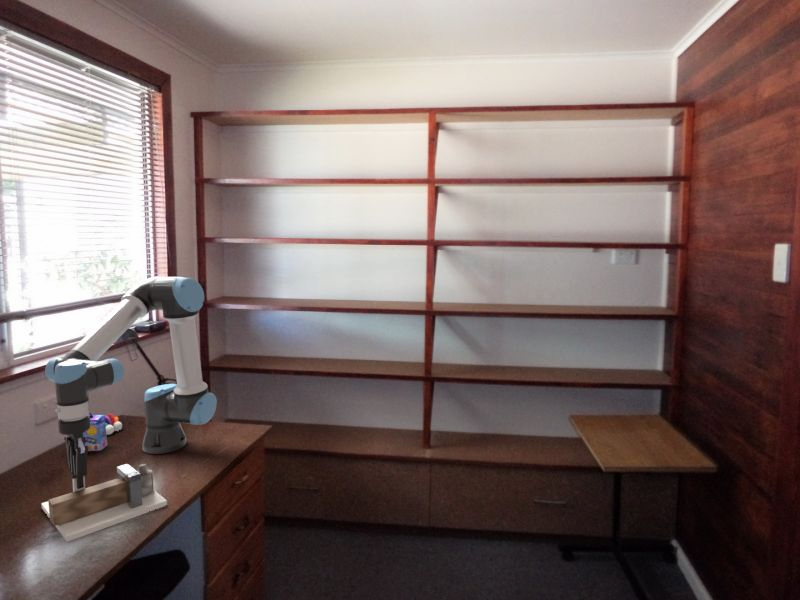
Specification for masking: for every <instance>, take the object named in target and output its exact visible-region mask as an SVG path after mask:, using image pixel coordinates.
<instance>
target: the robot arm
mask: <svg viewBox="0 0 800 600" xmlns="http://www.w3.org/2000/svg"><path fill="white" fill-rule="evenodd" d="M204 301H205V293H204V289H203V287H202V285H201V284H200V283H199V281H197V280H196V279H194V278H191V277H186V276H154V277H150V278H147V279H145V280H143V281H141V282H139V283H137V284H136V285H135V286H133V287H131V288H130V289H129V290H127V292H126V293H125V294H124V295H123V296H122V297H121V298H120V303H118V305H117V306H116V307H115V308H114V309H112V310H111V311H110V313H108V314H107V316H105V317H104V318H103V319H102V320H101V321H100V322H99V323H97V324H96V326H94V328H93V329H92V330H90V331H89V332H88V333H87V335H85V336H84V337H83V338H82V339H81V340H80V341H79V342H78V343H77V344H76V345H74V347H72V349H70V350H69V351H68V353H66V354H65V355H64V356H58V357H53V358H52V359H50V360H49V361H48V362H47V363H46V366H45V367H44V368H45V370H44V371H45V372H44V373H45V374H44V375H45V376H46V378H47V379H48V380H49V381H50V382H53V383H54V387H55V396H56V397H55V398H56V404H57V405H56V406H57V408H55V409H54V410H55V413H57V418H58V421H57V422H58V424H57V425H58V433H59V434H60V435H64V437H63V438H64V439H63V440H64V443H65V448H66V455H67V456H66V457H67V463H68V470H69V472H70V475H71V477H70V478H71V481H72V492H75V491H79V490H82V489H85V488H86V479H85V477H86V476H87V475H88V452H89V451H88V446H87V445H86V446H85V443H86V439H85V436H84V437H83V433H84V432H85V431H87V430H89V429H90V416H89V415H90V414H89V413H90V410H91V409H90V399H89V392H92V391H95V390H98V389H101V388H105V387H108V386H112V385H114V384H116V383H119V382H120V381H121V380H123V378H124V375H125V370H124V369H125V366H124V365H123V364H122V362H121V361H120V360H119V359H117V358H104V359H103V360H99V359H100V358H101V357H102V356H103V355H104V354H105V353H106V352H107V351H108V350H109V349H110V348H111V347H112V346H113V344H115V343H116V342H117V341H118V340H119V339H120V337H122V336H123V334H124V333H125V332H127V330H129V328H130V327H131V326H132V325H134V323H136V321H137V320H138V319H140V318H144V317H145V316H146V315H148V314H149V313H150V312H152V311H157V310H158V311H160V310H161V311H162V317H163V319H164V320H166V321H167V322H168V325H169V333H170V341H171V347H172V355H173V356H172V357H173V362H174V369H175V370H174V371H175V377H176V383H165V384H161V385H156V386H153V387H150V388H148V389H147V390H146V391H144V401H143V402H144V413H145V426H146V429H145V434H144V437H143V438H142V439H143V440H142V445H141V447H142V451H143V452H144V453H146V454H149V455H160V454H161V455H162V454H168V453H172V452H176V451H179V450H180V449H182V448H184V447H185V446H186V444H187V437H186V433H185V432H184V429H183V428H182V427H183V426H182V425H181V423H182V424H189V425H192V426H193V425H194V426H195V425H205V424H206V423H209V422H210V420H211V419H212V418H213V416H214V414H215V412H216V409H217V403H218V402H217V397H216V395H215V394H214V393H213V392H209V386H208V384H207V383H206V382H205V381H203V373H202V366H201V365H202V363H201V359H200V349H199V342H198V333H197V325H196V317H198V315H199V313H200V309H201V308H202V307H203V306H204V303H203V302H204Z"/></svg>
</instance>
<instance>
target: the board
mask: <svg viewBox="0 0 800 600" xmlns="http://www.w3.org/2000/svg"><path fill="white" fill-rule="evenodd" d="M40 504H41V509H42V510H43V512H44V514H47V515H46V516H47V518H48V519H49V518H50V513H49V502H48V500H47V501H44V502H42V503H40ZM166 505H167V506H168V500H167V499H165V497H163V496H162V495H161V494H159V493H158V492H157V491H156V490H155V489H154V492H153V493H151V494H149V495H147V496H142V505H141V506H138V507H135V508H133V509H131V508H130V507H129V506H128V503H127V501H126V502H123V503H120V504H118V505H115V506H112V507H109V508H106V509H103V510H100V511H97V512H94V513H91V514H88V515H85V516H82V517H79V518H76V519H73V520H71V521H68V522H65V523H62V524H59V525H56V526H54V527H55V529H57V531H58V532H59V533H60V535H61V537H63V539H64V540H65V541H66V542H67V543H68V542H71V541H73V540H76V539H79V538H81V537H85V536H88V535H90V534H92V533H95V532H98V531H100V530H104V529H106V528H109V527H111V526H114V525H117V524H120V523H122V522H126V521H128V520H131V519H133V518H137V517H139V516H142V515H145V514H147V513H150V512H153V511H155V509H156V510H158V509H161V508H163V507H164V508H165V507H166ZM149 511H150V512H149Z"/></svg>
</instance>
